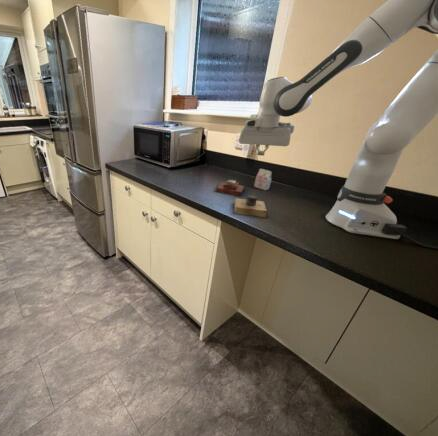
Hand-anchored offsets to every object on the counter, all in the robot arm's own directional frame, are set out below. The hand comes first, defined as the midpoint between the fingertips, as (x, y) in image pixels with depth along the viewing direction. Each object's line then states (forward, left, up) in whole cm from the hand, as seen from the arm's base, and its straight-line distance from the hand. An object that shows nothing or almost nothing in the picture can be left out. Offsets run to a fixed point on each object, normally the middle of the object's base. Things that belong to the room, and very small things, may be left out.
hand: (260, 155), depth 105 cm
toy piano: (+11, -5, -21) cm, 24 cm away
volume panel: (-1, +15, -21) cm, 26 cm away
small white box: (-3, -18, -21) cm, 28 cm away
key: (+11, -5, -17) cm, 21 cm away
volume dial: (-1, +15, -18) cm, 24 cm away
